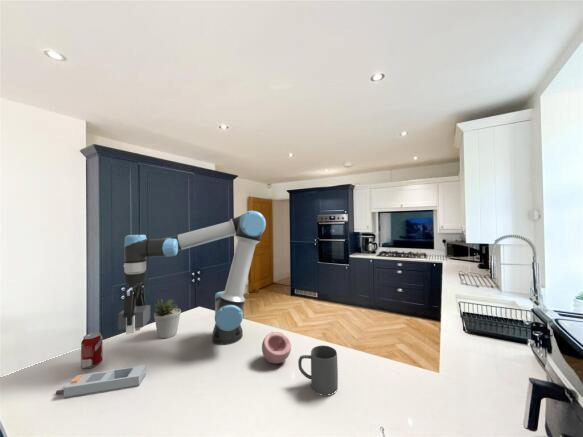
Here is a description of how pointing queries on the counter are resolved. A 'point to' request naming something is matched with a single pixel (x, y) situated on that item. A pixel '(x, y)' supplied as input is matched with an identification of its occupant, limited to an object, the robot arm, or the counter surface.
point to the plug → (136, 317)
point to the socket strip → (104, 381)
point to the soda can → (91, 350)
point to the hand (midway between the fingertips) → (135, 328)
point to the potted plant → (166, 319)
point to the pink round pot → (276, 347)
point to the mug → (322, 369)
